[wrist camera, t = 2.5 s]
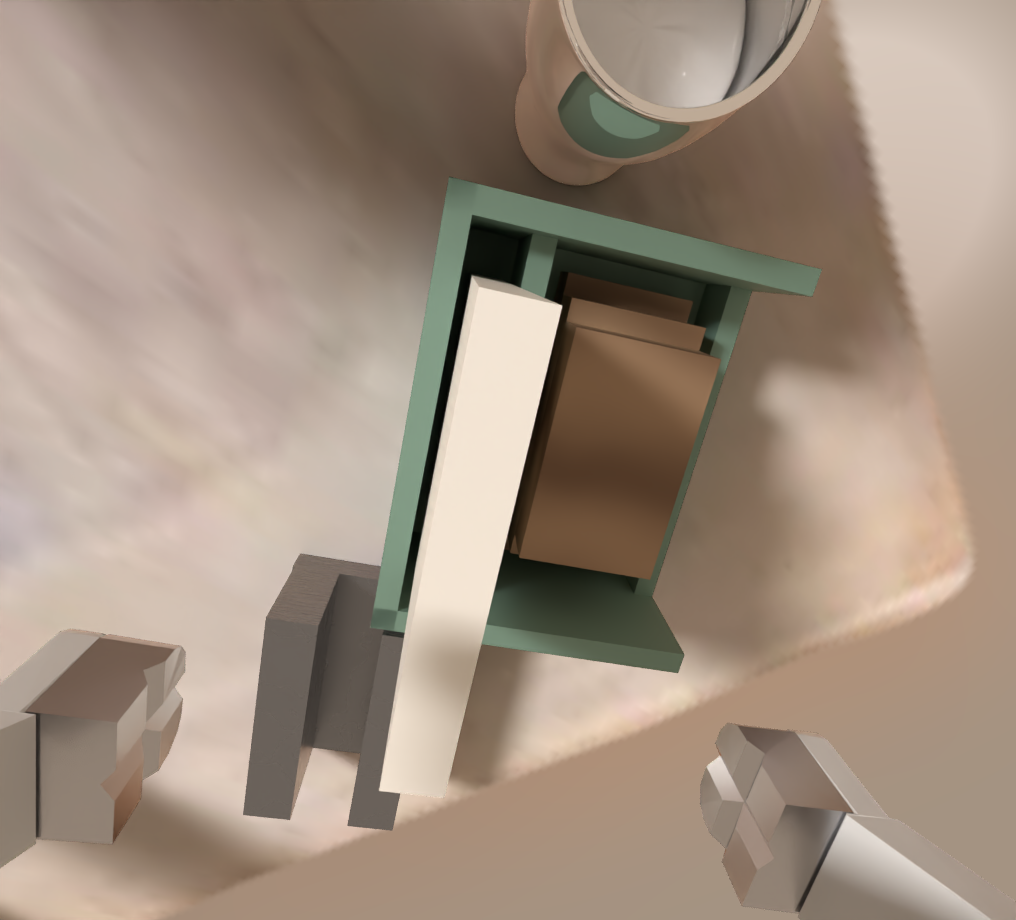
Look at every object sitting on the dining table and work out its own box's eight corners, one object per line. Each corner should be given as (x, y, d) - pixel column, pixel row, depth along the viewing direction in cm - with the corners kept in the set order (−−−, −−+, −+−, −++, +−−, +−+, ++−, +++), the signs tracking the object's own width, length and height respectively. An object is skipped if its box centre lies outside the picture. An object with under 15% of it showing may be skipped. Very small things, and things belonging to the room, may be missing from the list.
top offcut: (566, 321, 25) (576, 327, 23) (699, 351, 26) (721, 359, 24) (514, 534, 28) (519, 557, 26) (635, 555, 29) (649, 579, 27)
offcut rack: (453, 202, 29) (449, 176, 20) (723, 267, 31) (822, 269, 22) (393, 536, 34) (370, 627, 26) (627, 576, 36) (677, 673, 28)
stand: (300, 553, 34) (263, 617, 28) (439, 576, 35) (434, 642, 29) (277, 724, 38) (241, 814, 31) (405, 740, 39) (394, 830, 32)
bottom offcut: (560, 271, 29) (568, 272, 27) (675, 298, 30) (693, 301, 28) (500, 529, 33) (502, 549, 31) (603, 547, 34) (613, 567, 32)
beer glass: (486, 167, 29) (507, 72, 14) (532, 3, 27) (608, -293, 13) (621, 215, 30) (764, 171, 16) (674, 61, 28) (893, -151, 14)
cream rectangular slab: (470, 272, 29) (478, 286, 11) (502, 280, 29) (562, 306, 11) (426, 499, 33) (379, 790, 15) (455, 504, 33) (444, 798, 15)
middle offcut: (563, 294, 27) (572, 297, 25) (686, 323, 28) (706, 328, 26) (506, 531, 31) (510, 553, 29) (617, 550, 32) (629, 573, 29)
